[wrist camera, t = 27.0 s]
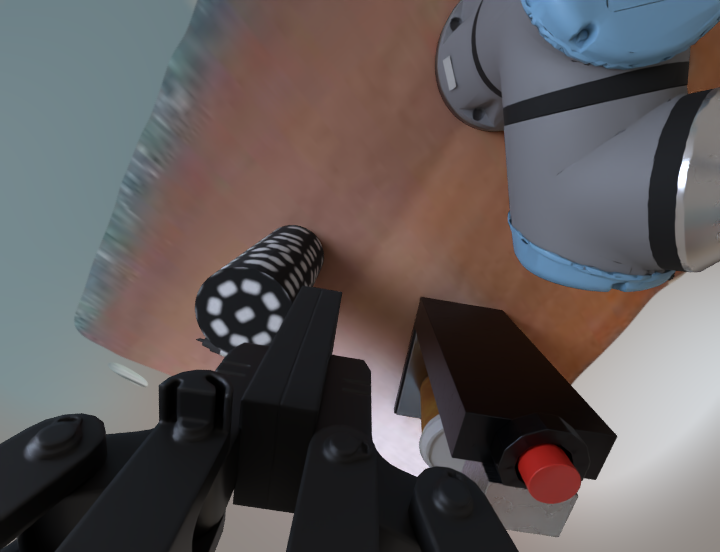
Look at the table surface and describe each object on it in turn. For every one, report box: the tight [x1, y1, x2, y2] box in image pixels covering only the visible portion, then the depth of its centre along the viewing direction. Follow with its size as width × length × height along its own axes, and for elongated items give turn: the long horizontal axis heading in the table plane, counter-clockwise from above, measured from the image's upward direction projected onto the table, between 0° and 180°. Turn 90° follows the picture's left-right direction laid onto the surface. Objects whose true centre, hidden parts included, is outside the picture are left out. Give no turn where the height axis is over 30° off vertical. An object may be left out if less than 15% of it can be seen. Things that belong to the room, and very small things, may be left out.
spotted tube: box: [195, 225, 324, 354], centre depth 39 cm, size 8×8×20 cm
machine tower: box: [414, 297, 617, 493], centre depth 38 cm, size 12×6×26 cm, turn 80°
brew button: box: [518, 443, 581, 504], centre depth 25 cm, size 4×4×2 cm
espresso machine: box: [394, 326, 578, 537], centre depth 41 cm, size 12×15×26 cm
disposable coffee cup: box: [419, 376, 465, 472], centre depth 47 cm, size 10×10×12 cm
